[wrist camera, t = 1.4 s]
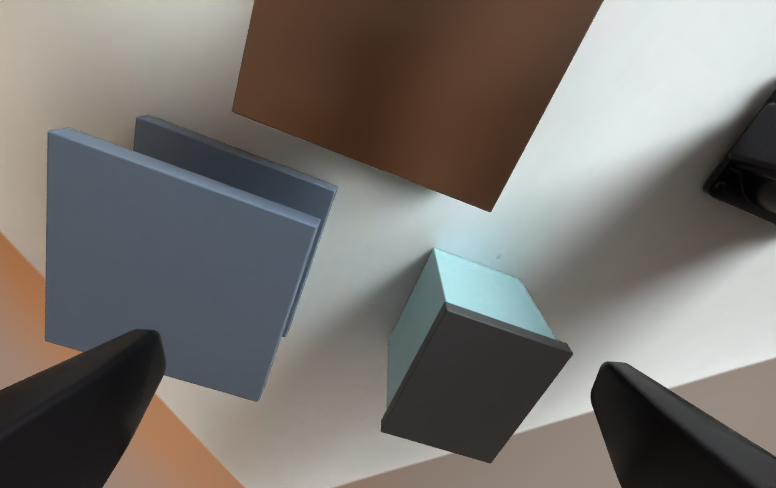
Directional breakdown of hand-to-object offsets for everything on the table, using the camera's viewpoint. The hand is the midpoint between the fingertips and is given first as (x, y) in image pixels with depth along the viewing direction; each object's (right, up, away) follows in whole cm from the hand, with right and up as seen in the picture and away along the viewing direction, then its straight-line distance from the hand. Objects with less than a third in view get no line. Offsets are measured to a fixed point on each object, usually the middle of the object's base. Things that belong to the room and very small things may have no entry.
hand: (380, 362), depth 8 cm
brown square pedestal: (+1, +12, +9) cm, 15 cm away
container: (+4, -2, +16) cm, 16 cm away
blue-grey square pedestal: (-9, +3, +14) cm, 17 cm away
